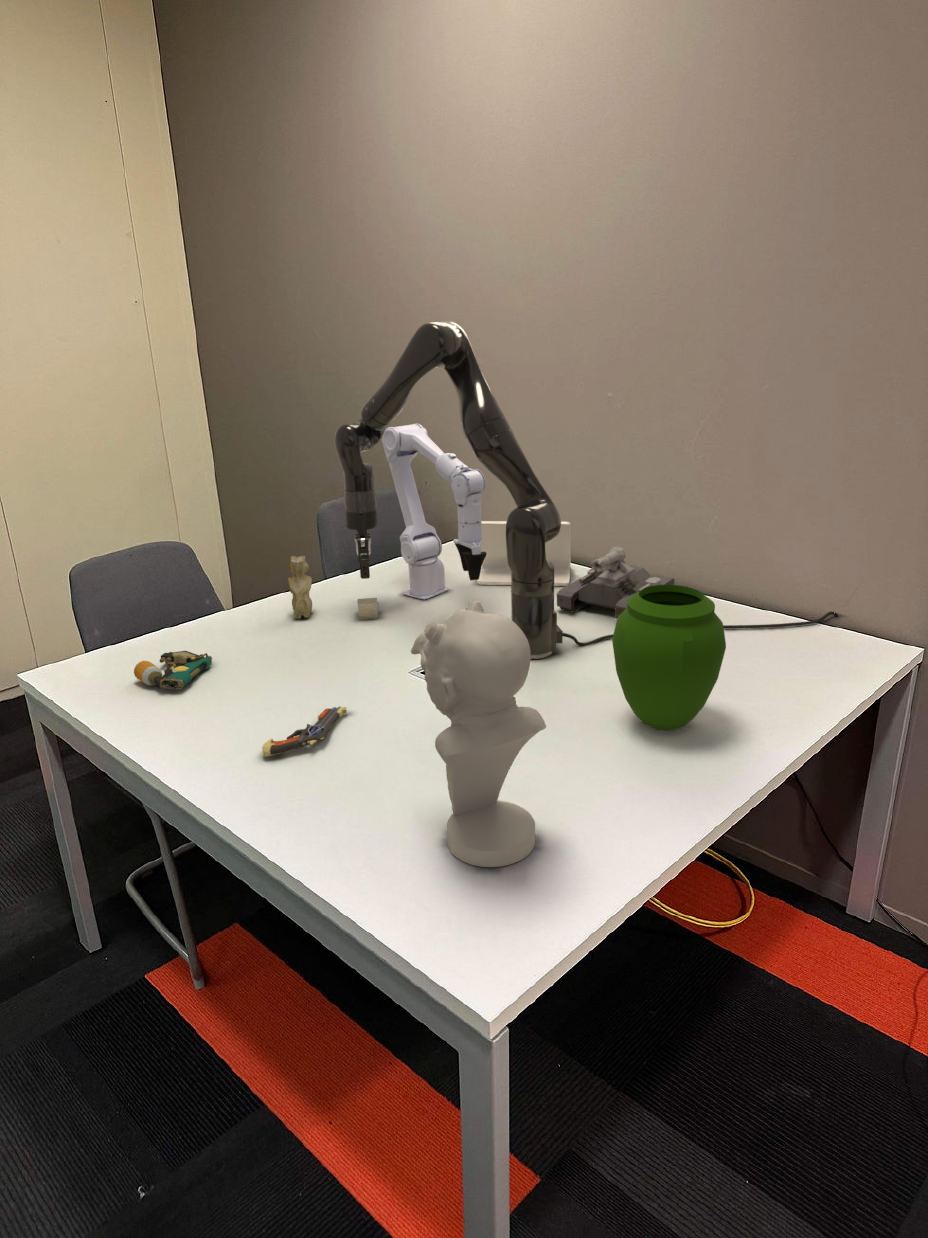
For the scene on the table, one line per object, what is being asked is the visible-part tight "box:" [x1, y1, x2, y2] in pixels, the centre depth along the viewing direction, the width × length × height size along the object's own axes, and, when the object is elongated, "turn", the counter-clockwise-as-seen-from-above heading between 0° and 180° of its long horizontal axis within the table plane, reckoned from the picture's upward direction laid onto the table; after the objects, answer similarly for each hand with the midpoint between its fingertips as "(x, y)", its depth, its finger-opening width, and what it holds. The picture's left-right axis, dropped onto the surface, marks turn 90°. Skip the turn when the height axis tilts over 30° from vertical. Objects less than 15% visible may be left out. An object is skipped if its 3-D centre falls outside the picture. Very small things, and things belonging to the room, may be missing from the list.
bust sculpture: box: [410, 599, 547, 868], centre depth 121 cm, size 16×24×35 cm
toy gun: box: [261, 705, 348, 758], centre depth 154 cm, size 3×19×10 cm
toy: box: [556, 546, 676, 620], centre depth 212 cm, size 25×20×15 cm
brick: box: [357, 597, 379, 621], centre depth 211 cm, size 4×5×4 cm
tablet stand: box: [476, 520, 572, 587], centre depth 236 cm, size 18×25×17 cm
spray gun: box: [133, 650, 213, 690], centre depth 180 cm, size 4×17×15 cm
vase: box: [611, 584, 727, 731], centre depth 151 cm, size 20×20×24 cm
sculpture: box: [287, 554, 313, 619], centre depth 211 cm, size 6×7×15 cm
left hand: (471, 574), depth 210 cm, fingers open, 7 cm apart
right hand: (365, 572), depth 208 cm, fingers open, 8 cm apart
